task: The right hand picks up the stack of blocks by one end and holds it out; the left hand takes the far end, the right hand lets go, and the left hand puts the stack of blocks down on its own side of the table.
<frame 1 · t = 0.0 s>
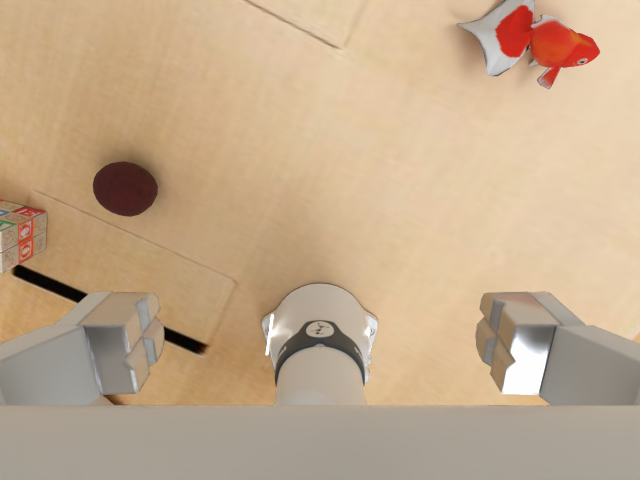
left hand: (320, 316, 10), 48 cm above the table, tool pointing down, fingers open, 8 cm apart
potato: (138, 183, 58), on the table
fish: (509, 43, 51), on the table
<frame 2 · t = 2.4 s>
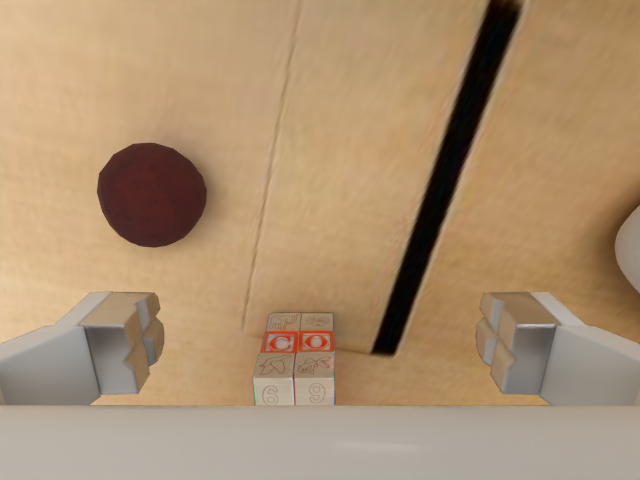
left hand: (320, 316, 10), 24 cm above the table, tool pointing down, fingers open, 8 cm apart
stack of blocks: (302, 400, 42), on the table, touching right hand
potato: (171, 183, 34), on the table
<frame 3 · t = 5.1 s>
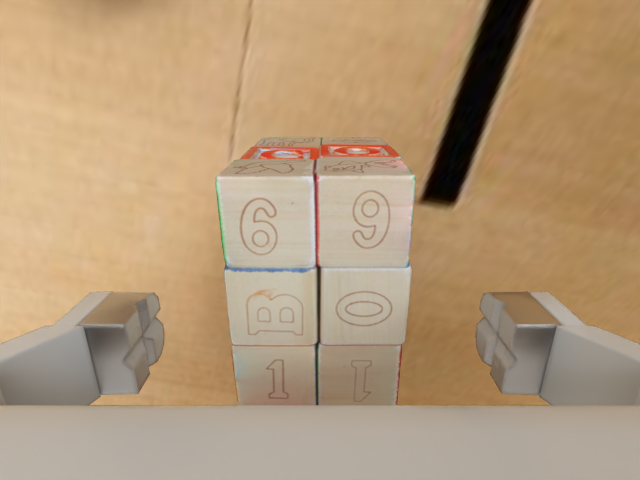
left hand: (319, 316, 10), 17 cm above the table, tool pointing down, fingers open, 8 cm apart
stack of blocks: (319, 316, 24), point 5 cm above the table, touching right hand
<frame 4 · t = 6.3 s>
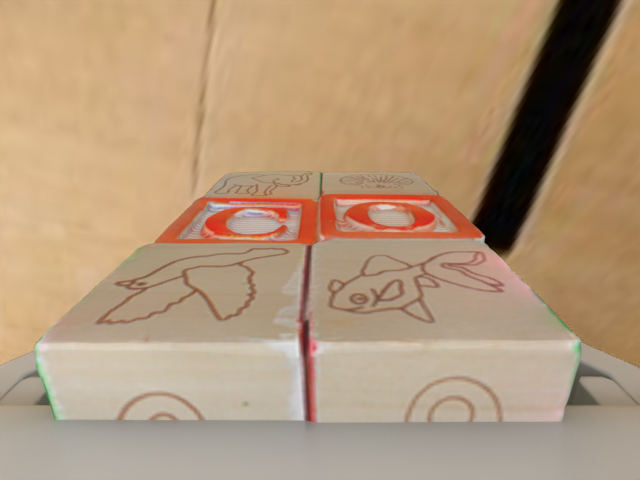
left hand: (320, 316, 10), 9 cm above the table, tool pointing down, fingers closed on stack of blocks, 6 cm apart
stack of blocks: (319, 424, 17), point 5 cm above the table, touching left hand, right hand
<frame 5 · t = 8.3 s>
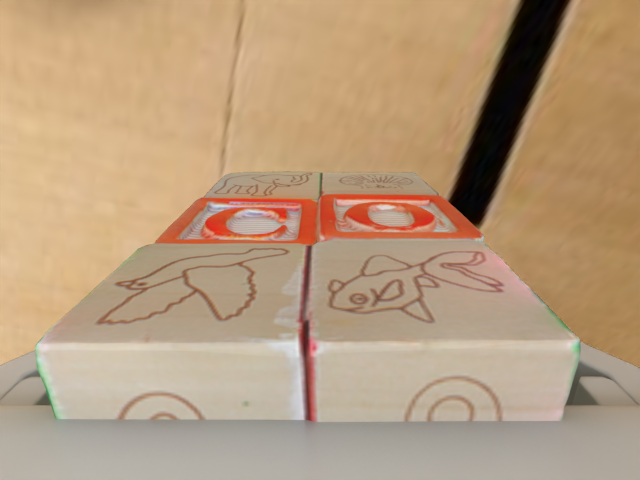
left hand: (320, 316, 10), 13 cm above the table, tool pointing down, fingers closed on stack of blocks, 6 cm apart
stack of blocks: (319, 424, 17), point 9 cm above the table, touching left hand
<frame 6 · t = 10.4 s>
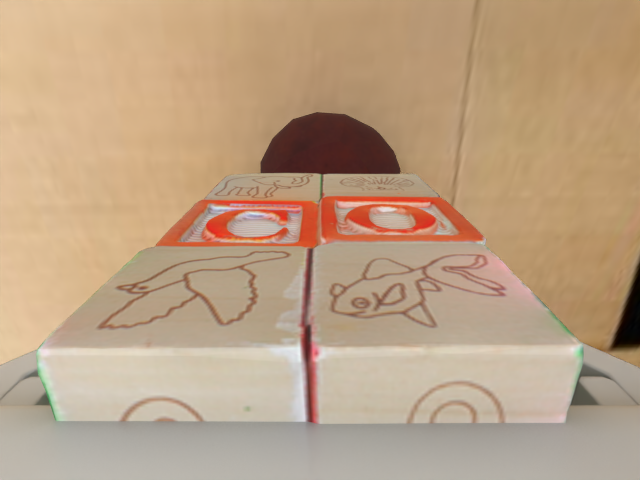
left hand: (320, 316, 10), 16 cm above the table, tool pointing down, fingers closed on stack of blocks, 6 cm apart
stack of blocks: (319, 426, 17), point 12 cm above the table, touching left hand
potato: (329, 172, 25), on the table
when the left hand's fingers open (5 cm above the table, at t = 14.7 s): stack of blocks drops 1 cm, on the table.
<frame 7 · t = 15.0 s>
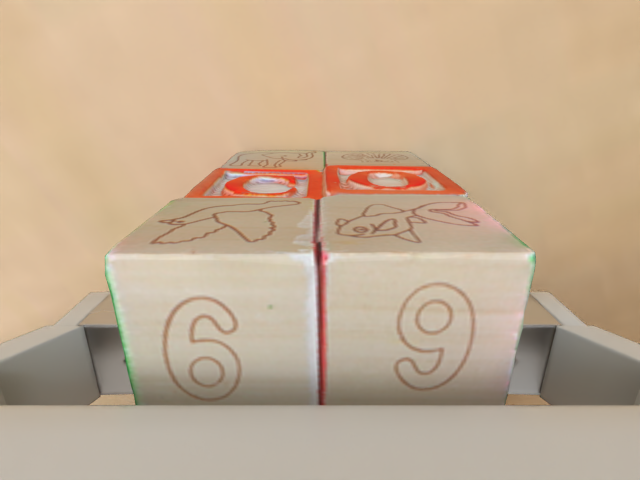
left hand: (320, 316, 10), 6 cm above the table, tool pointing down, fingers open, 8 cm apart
stack of blocks: (320, 391, 18), on the table
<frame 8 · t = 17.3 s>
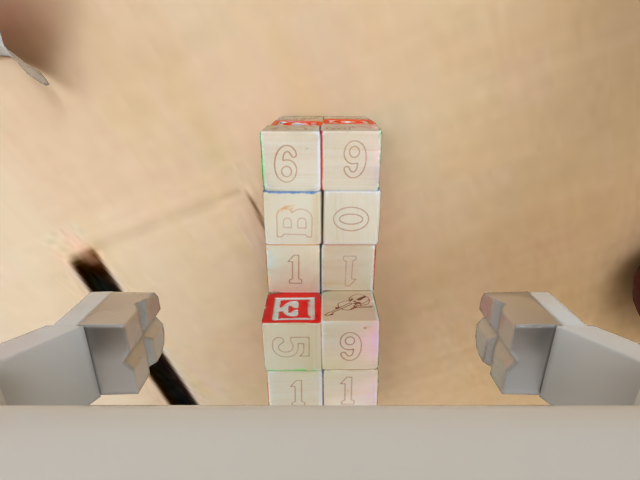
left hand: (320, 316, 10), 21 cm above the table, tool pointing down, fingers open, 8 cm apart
stack of blocks: (321, 254, 32), on the table
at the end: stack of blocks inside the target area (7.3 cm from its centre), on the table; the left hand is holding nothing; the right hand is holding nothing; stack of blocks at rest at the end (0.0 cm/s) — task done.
